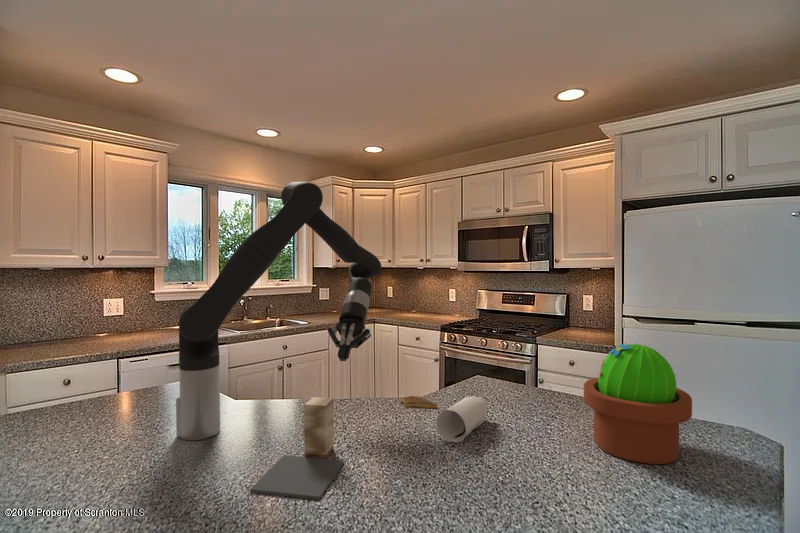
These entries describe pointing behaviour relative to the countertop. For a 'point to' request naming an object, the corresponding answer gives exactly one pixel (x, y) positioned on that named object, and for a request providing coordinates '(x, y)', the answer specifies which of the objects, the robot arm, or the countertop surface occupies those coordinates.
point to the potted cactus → (637, 406)
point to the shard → (417, 402)
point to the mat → (298, 477)
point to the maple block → (318, 427)
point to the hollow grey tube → (461, 418)
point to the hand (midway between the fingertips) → (342, 359)
